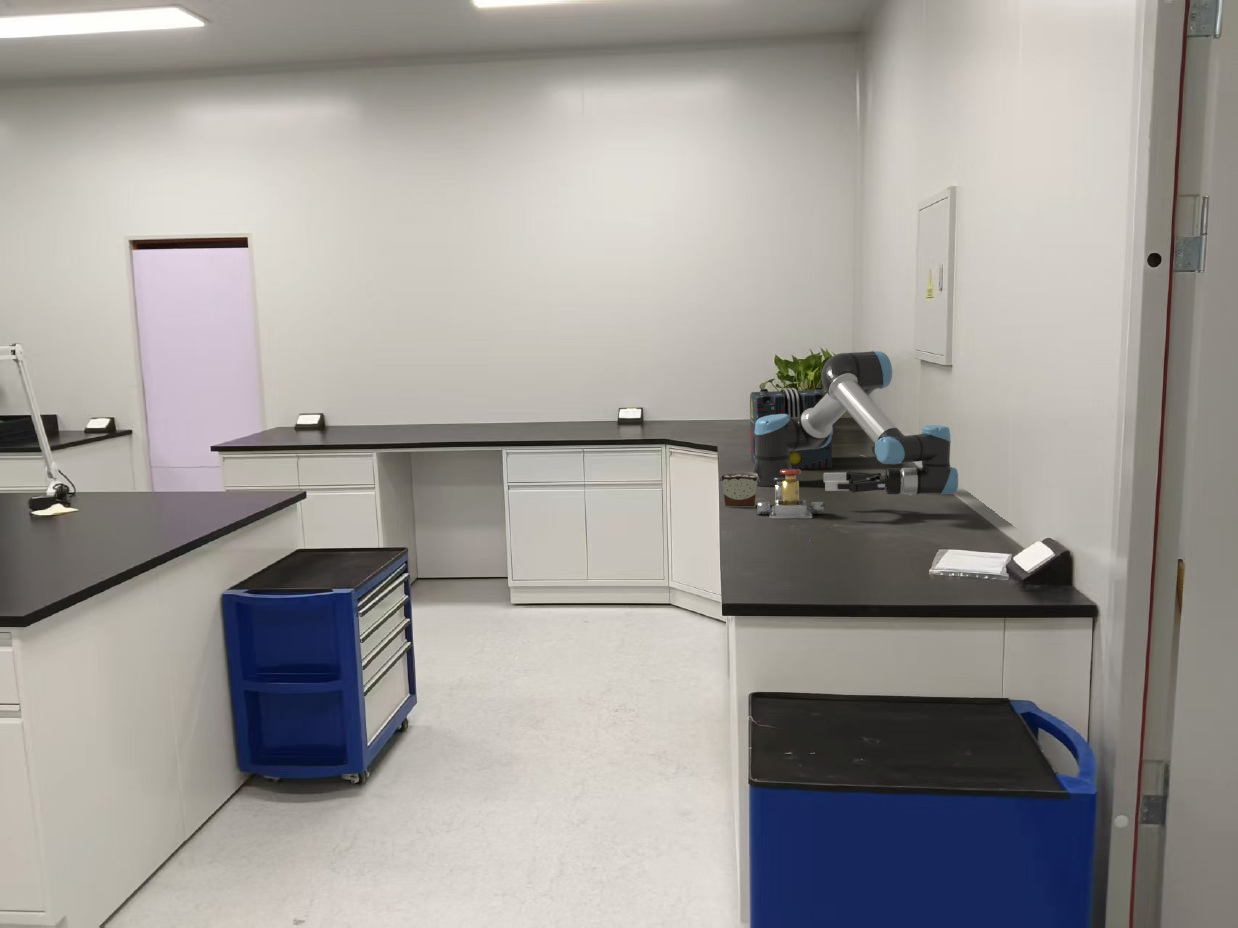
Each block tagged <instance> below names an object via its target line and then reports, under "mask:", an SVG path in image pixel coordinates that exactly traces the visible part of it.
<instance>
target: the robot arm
mask: <svg viewBox="0 0 1238 928" xmlns="http://www.w3.org/2000/svg"><path fill="white" fill-rule="evenodd" d="M892 366H893V365H892V362H891V359H890V358H889V356H888V354H886V353H885V352H883V351H879V350H878V351H875V350H872V351H861V352H860V351H858V352H856V351H855V352H841V353H837V354H834V355H833V356H831V357H829V359H827V360H826V362H825V363H824V365H823V367H822V370H821V376H820V377H821V379H820V380H821V384H822V388H823V389H824V390H825V391H824V392H826V393H827V394H826V395H825V396H824V397H823V398H822V399H821V400H820V401H819V402H818V404H817V405H816V406H815V407H814V408H809V409H807V410H805V411H804V412H803V413H802V414H801V415H800V416H799V417H792V418H789V415H787V414H776V415H768V416H764V417H761V418H759V419H758V420H757V421H756V423H755V454H756V461H755V464H753V465H754V466H753V469H752V472H751V473H756V474H758V476H759V480H760V482H759V481H757V487H758V486H760V487H775V485H776V484H777V481H775V480H774V477H785V474H780V470H782V469H792V466H791V463H790V451H797V450H808V449H819V448H823V447H825V446H827V445H828V444H829V442H830V441H831V439H832V440H833V435H834V434H833V433H834V428H833V425H834V424H835V423H836V422H837V421H838V420H839V419H840V418H841V417H842V415H844V414H845V413H846V412H847V413H848V414H849V415H850V416H851V417H852V419H853V420H854V421H855V422H856V423H857V424H858V426H859V427H860V428H861V429H862V430H863V431H864V432H865V433H866V435H867V436H868V437H869V438H870V439H871V440H872V442H873V443H874V444H875V446H874V455H876V459H877V461H878V462H880V464H883V465H899V464H906V463H907V464H908V463H915V462H921V467H902V468H901V469H900V468H898V467H888V468H886V469H885V474H884V475H882V473H881V472H863V471H862V472H861V471H851V470H849V471H848V472H823V483H824V484H825V485H824V487H825V489H824V490H825V492H833V491H834V492H839V491H840V492H842V491H843V492H851V493H853V494H854V493H861V492H871V491H872V492H873V491H885V493H886V494H887V495H899V494H902V495H908V496H909V497H913V495H949V494H951V495H952V494H954V493H956V492H957V491H958V489H959V473H958V470H957V468H956V467H951V461H950V456H951V443H952V441H951V430H950V427H948V426H946V425H939V424H937V425H935V424H934V425H932V424H931V425H926V426H923V427H922V431H921V433H920V434H919V433H918V434H909V435H907V434H906V435H905V434H904V433H903V432H902V431H901V430H900V429H899V428H898V427H897V426H896V425H895V423H894V422H892V420H891V419H890V418H889V417H888V416H887V415H886V414H885V413H884V411H883V409H881V408H880V407H879V405H877V404H876V403H875V402H874V400H873V399H872V398H871V396H870V394H872V393H873V392H874V391H875V390H877V389H879V390H882V389H886V388H887V387H888V386H890V385H891V382H892V378H893V367H892ZM831 435H832V437H831Z"/></svg>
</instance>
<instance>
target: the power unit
mask: <svg viewBox="0 0 1238 928" xmlns="http://www.w3.org/2000/svg"><path fill="white" fill-rule="evenodd" d="M826 394H827V392H826V391H824V390H823V386H815V387H814V389H808V390H806V389H805V390H804V389H803V390H797V389H796V388H794V387H791V388H789V387H787V388H781V390H780V391H777V390H776V391H769V390H768V388H761V389H760V391H752V392H750V394H749V395H750V396H749V414H750V415H749V416H750V417H749V420H750V426H749V427H750V459H751V461H752V463H753V465H755V461H756V454H755V423H756V421H757V420H758V419H759V418H761V417H764V416H768V415H776V414H787V415H789V418H792V417H799V416H800V415H801V414H802V413H803V412H804V411H805V410H807V409H809V408H814V407H815V406H816V405H817V404H818V402H819V401H820V400H821V399H822V398H823V397H824V396H825V395H826ZM831 437H832V439H831V441H830V442H829V444H828V445H827V446H825V447H823V448H819V449H808V450H797V451H790V463H791V466H792V469H800V470H814V469H817V470H819V469H820V470H821V469H832V468H833V441H832V440H833V435H831Z"/></svg>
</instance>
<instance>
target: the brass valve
mask: <svg viewBox="0 0 1238 928" xmlns="http://www.w3.org/2000/svg"><path fill="white" fill-rule="evenodd" d="M780 474H785V480H783V481H782V505H799V500H800V481H799V480H797V475H800V474H802V469H782V470H780Z"/></svg>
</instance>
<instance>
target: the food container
mask: <svg viewBox="0 0 1238 928" xmlns="http://www.w3.org/2000/svg"><path fill="white" fill-rule="evenodd" d="M757 481H759V482H760V480H759V476H758V474H756V473H752V472H751V471H750V472H749V471H734V472H733V471H732V472H724V473H722V474H720V476H719V482H720V483H721V487H722V489H721V490H722V495H723V496H722V497H723V504H724V505H723V506H724V507H725V508H756V505H757V502H756V501H757V490H758V485H757Z"/></svg>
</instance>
